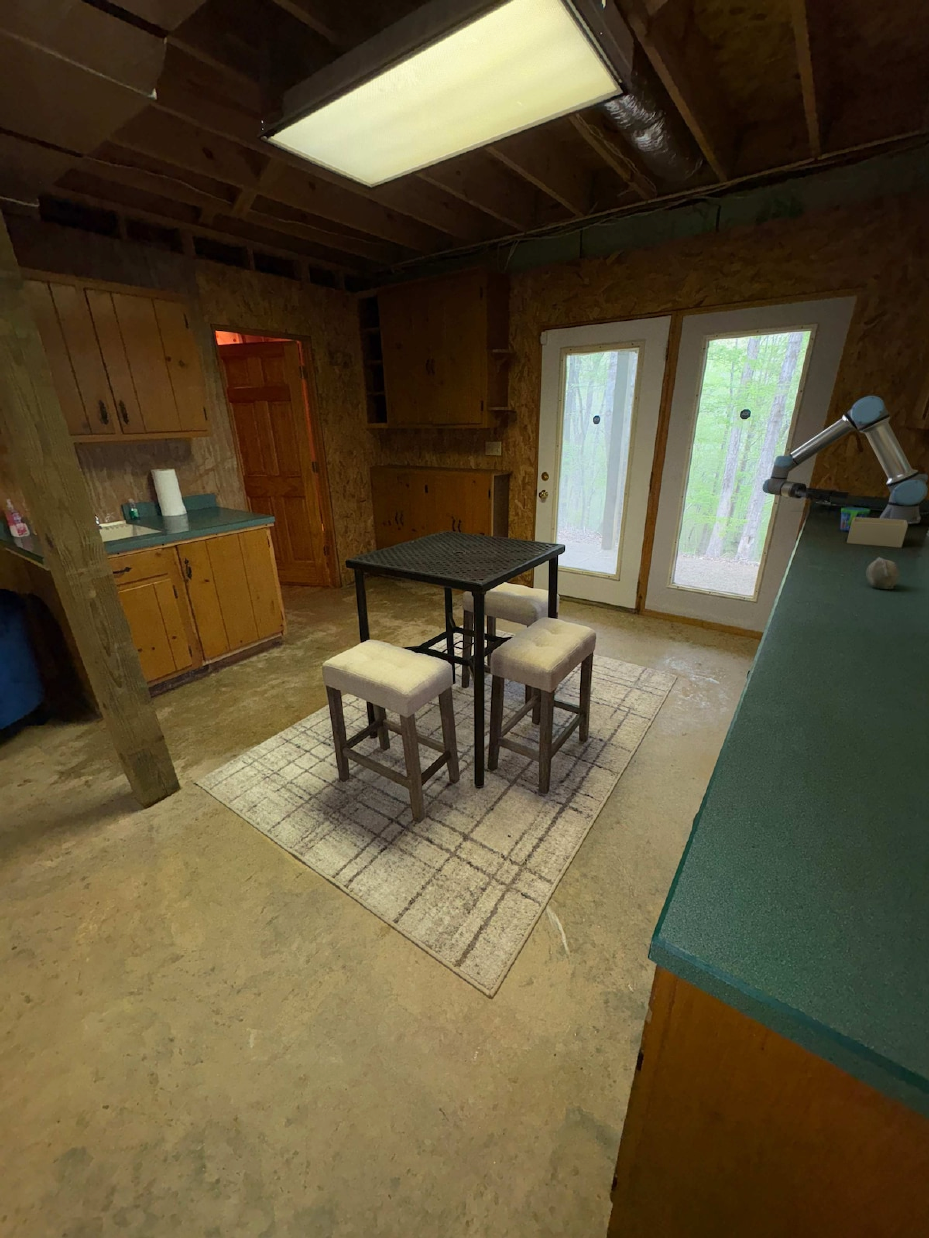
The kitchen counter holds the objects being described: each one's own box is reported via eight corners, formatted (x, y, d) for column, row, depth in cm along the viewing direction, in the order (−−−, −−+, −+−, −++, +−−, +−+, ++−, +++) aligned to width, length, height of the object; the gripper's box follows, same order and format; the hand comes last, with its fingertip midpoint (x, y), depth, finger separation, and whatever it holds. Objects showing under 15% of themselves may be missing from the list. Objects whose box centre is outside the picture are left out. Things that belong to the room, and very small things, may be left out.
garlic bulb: (879, 598, 149) (885, 571, 143) (853, 586, 156) (858, 560, 150) (905, 586, 149) (912, 559, 144) (878, 574, 156) (884, 548, 151)
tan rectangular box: (847, 537, 214) (853, 517, 211) (900, 541, 204) (906, 520, 200) (846, 543, 204) (852, 521, 201) (901, 547, 194) (907, 525, 191)
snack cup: (840, 527, 234) (845, 505, 230) (867, 529, 227) (873, 507, 223) (832, 532, 224) (837, 510, 220) (860, 534, 217) (866, 512, 213)
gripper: (808, 495, 252) (851, 502, 234) (775, 499, 243) (818, 507, 225) (812, 480, 249) (856, 486, 231) (779, 484, 240) (823, 490, 222)
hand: (838, 496), depth 228 cm, fingers open, 13 cm apart
